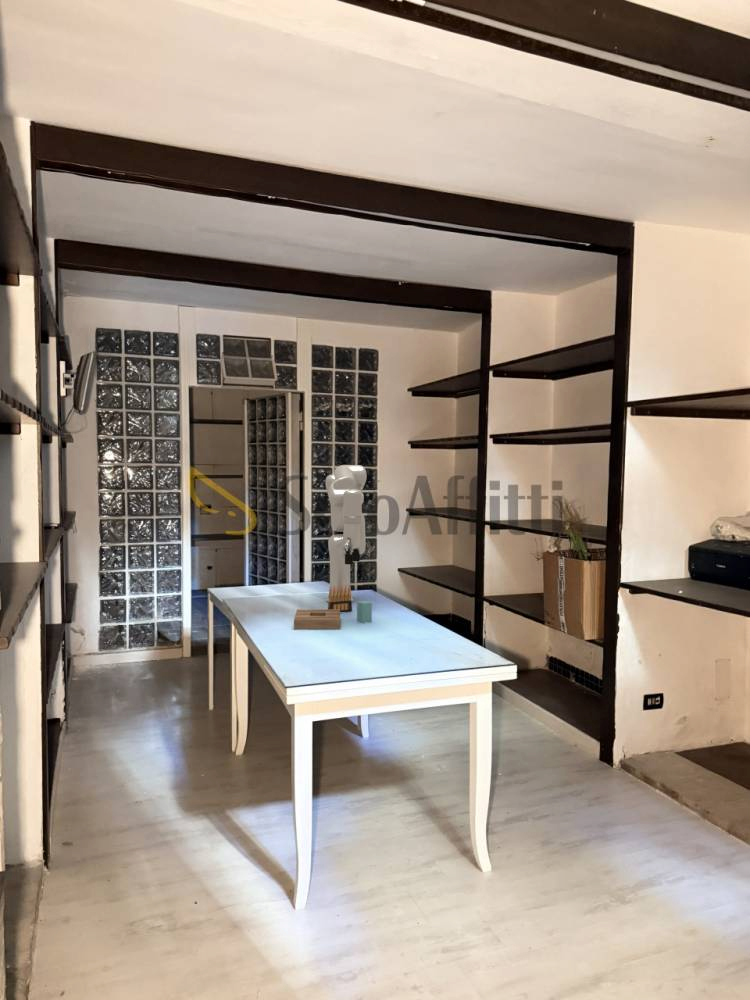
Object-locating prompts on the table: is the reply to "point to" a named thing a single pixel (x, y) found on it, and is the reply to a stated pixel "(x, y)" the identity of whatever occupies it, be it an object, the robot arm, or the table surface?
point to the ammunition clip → (340, 599)
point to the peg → (364, 611)
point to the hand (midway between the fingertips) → (352, 562)
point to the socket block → (317, 619)
